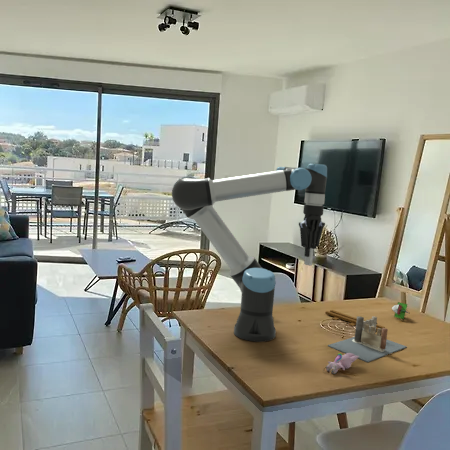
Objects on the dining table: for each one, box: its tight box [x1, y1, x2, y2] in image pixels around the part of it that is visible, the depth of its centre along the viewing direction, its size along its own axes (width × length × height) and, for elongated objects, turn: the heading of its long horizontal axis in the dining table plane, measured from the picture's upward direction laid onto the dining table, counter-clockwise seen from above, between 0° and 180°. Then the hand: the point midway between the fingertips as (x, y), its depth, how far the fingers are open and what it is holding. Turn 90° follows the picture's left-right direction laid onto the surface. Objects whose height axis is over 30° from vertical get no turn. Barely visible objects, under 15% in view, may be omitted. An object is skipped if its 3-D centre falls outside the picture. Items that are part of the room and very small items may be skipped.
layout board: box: [327, 336, 408, 363], centre depth 167 cm, size 25×16×1 cm, turn 130°
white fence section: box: [354, 315, 378, 342], centre depth 173 cm, size 12×2×9 cm, turn 130°
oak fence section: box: [361, 324, 388, 349], centre depth 166 cm, size 9×2×7 cm, turn 45°
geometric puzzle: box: [391, 301, 409, 320], centre depth 205 cm, size 7×7×8 cm
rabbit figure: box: [322, 352, 359, 376], centre depth 147 cm, size 6×6×15 cm
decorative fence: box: [324, 309, 386, 332], centre depth 194 cm, size 25×2×10 cm
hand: (308, 264), depth 184 cm, fingers closed
